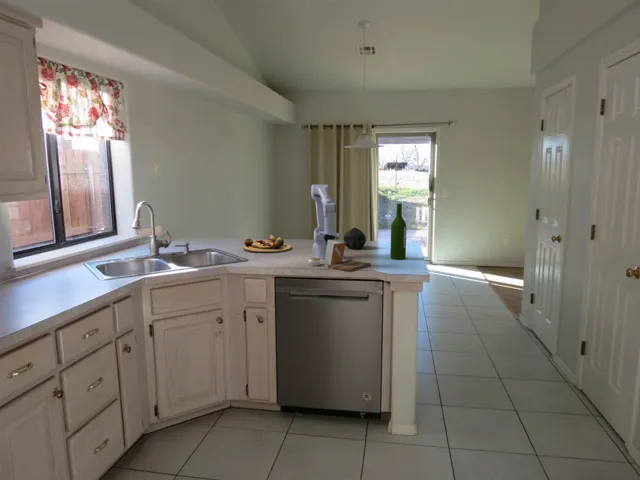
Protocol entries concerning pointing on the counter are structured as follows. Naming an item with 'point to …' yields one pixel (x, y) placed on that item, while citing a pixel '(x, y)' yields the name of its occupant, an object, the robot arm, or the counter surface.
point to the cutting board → (348, 265)
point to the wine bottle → (398, 236)
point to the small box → (334, 251)
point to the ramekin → (313, 261)
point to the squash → (354, 239)
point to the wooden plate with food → (266, 245)
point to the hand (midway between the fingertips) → (329, 248)
